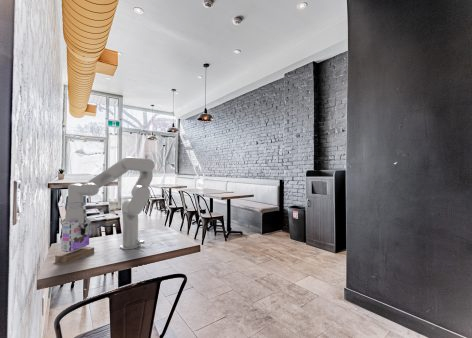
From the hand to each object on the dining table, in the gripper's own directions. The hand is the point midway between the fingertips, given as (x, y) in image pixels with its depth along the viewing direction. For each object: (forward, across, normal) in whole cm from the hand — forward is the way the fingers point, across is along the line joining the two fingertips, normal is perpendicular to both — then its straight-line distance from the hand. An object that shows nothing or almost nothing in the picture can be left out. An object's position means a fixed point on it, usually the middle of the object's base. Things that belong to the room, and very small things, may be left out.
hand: (75, 234), depth 140 cm
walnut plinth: (+14, 0, 0) cm, 14 cm away
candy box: (+8, 0, 0) cm, 8 cm away
